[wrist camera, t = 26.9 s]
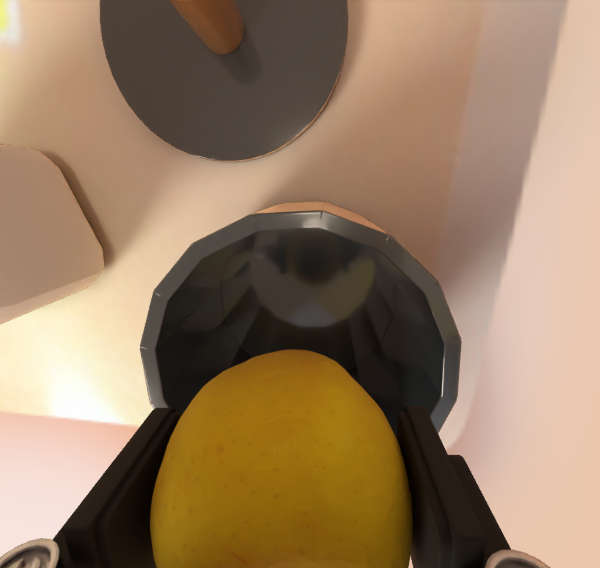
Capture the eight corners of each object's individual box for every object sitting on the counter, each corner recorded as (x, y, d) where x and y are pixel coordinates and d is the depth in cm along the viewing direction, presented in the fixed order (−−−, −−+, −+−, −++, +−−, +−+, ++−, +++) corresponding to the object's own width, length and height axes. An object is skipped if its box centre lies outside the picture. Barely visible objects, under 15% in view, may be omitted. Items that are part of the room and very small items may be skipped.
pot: (405, 196, 23) (472, 202, 12) (400, 381, 26) (450, 502, 16) (203, 207, 24) (114, 220, 13) (225, 383, 27) (167, 499, 17)
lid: (344, -128, 18) (357, -318, 12) (348, 155, 22) (360, 140, 15) (89, -97, 20) (-39, -255, 13) (134, 168, 23) (53, 160, 16)
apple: (185, 346, 13) (-15, 574, 5) (348, 290, 12) (392, 471, 4) (251, 480, 14) (169, 812, 7) (402, 439, 13) (508, 775, 6)
